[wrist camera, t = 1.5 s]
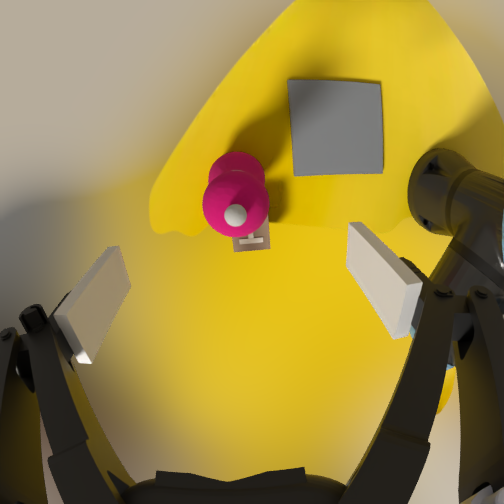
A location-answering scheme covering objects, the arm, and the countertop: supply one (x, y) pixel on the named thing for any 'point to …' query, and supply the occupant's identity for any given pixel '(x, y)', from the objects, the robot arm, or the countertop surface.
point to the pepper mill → (236, 195)
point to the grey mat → (335, 127)
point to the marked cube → (253, 239)
